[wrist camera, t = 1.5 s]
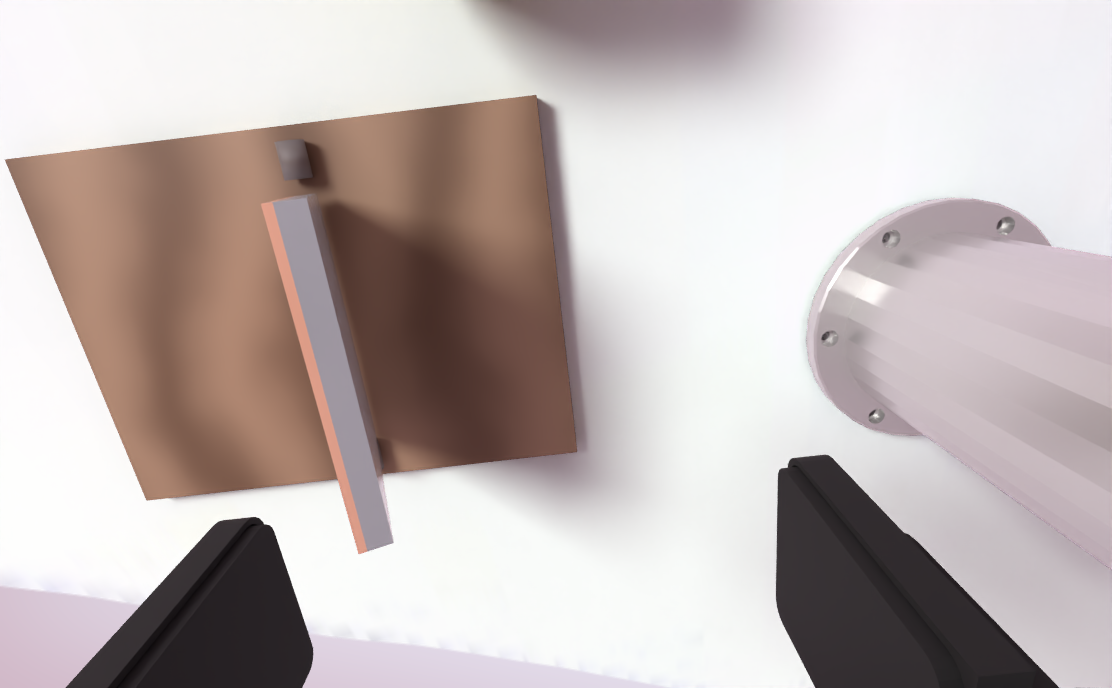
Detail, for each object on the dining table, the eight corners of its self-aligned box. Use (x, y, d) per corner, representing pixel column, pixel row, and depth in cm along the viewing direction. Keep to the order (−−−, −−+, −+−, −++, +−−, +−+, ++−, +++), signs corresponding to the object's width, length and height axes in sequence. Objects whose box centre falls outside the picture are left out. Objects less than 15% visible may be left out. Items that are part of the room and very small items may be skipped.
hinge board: (536, 97, 25) (536, 91, 23) (576, 442, 31) (578, 463, 29) (24, 159, 25) (-22, 159, 23) (158, 490, 31) (131, 513, 29)
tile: (306, 197, 16) (260, 203, 15) (393, 543, 19) (358, 554, 19) (316, 193, 25) (288, 196, 24) (375, 430, 28) (351, 436, 28)
